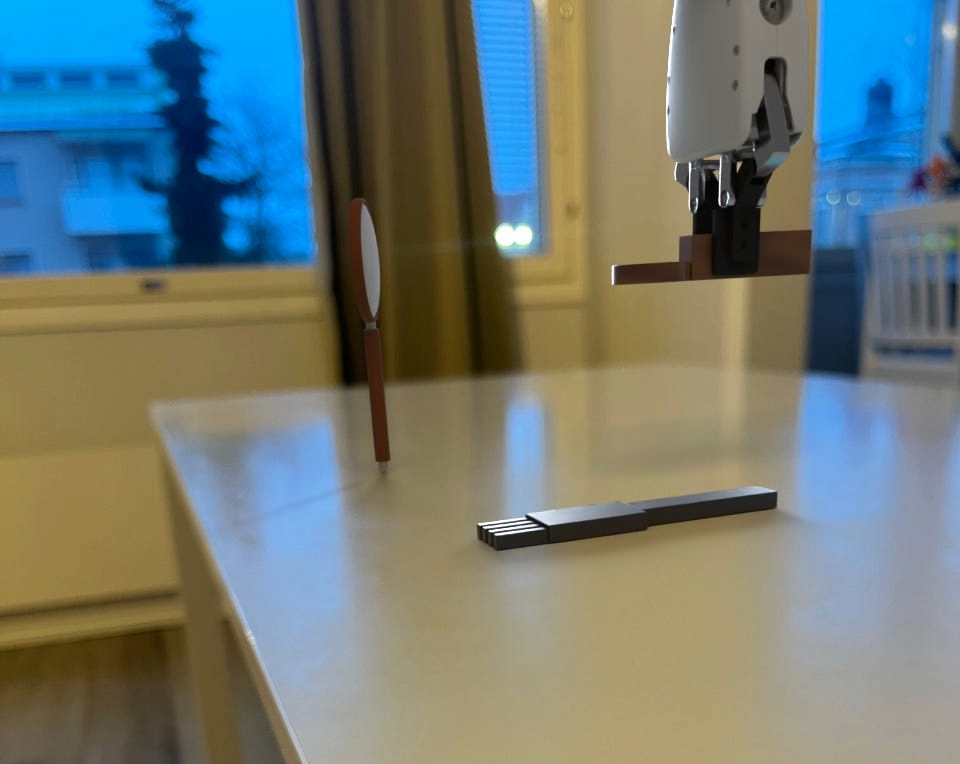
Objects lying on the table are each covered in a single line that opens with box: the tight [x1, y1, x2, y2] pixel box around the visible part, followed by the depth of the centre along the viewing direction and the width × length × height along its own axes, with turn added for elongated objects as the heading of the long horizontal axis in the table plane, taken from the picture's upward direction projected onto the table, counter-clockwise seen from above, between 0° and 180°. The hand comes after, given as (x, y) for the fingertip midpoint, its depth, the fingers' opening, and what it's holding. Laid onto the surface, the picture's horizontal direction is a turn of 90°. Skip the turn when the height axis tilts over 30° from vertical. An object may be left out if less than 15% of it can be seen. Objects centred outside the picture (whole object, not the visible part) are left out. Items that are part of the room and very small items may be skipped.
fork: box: [476, 485, 778, 551], centre depth 57 cm, size 18×4×1 cm, turn 109°
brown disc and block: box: [611, 229, 813, 286], centre depth 65 cm, size 14×5×3 cm, turn 108°
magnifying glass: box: [348, 197, 391, 475], centre depth 75 cm, size 9×2×20 cm, turn 177°
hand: (724, 273), depth 66 cm, fingers closed on brown disc and block
